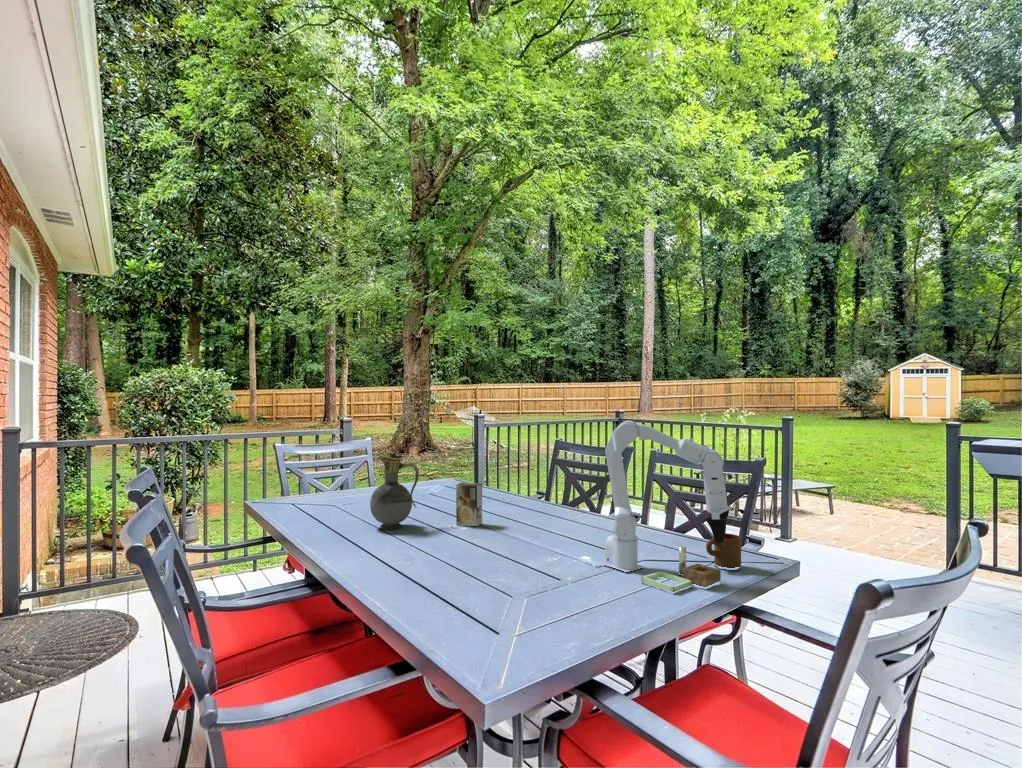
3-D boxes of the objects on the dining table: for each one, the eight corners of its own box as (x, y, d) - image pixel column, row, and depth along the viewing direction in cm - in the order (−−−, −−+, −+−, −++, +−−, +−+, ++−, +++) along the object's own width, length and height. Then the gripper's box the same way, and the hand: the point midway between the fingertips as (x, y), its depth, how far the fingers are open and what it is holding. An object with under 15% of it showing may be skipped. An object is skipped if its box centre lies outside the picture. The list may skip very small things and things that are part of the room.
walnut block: (682, 582, 157) (682, 568, 157) (697, 577, 161) (697, 563, 161) (705, 590, 151) (705, 575, 151) (720, 584, 156) (720, 569, 156)
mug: (716, 574, 164) (716, 542, 164) (697, 567, 171) (697, 535, 171) (746, 569, 169) (746, 537, 169) (727, 562, 176) (727, 532, 176)
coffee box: (483, 523, 224) (483, 483, 225) (477, 527, 218) (477, 485, 219) (461, 522, 227) (461, 482, 227) (455, 525, 221) (455, 484, 221)
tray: (641, 583, 156) (641, 577, 156) (660, 577, 161) (660, 571, 161) (673, 594, 148) (673, 587, 148) (691, 587, 153) (691, 580, 153)
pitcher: (366, 526, 218) (367, 449, 218) (413, 521, 228) (414, 446, 228) (375, 533, 209) (375, 452, 209) (423, 527, 218) (424, 449, 219)
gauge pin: (677, 574, 164) (677, 547, 164) (681, 573, 165) (681, 546, 165) (683, 576, 162) (683, 548, 162) (687, 575, 163) (687, 547, 163)
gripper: (728, 496, 155) (734, 545, 155) (731, 487, 169) (736, 532, 168) (701, 496, 158) (707, 545, 158) (706, 487, 171) (711, 532, 171)
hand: (720, 539), depth 163 cm, fingers open, 7 cm apart
